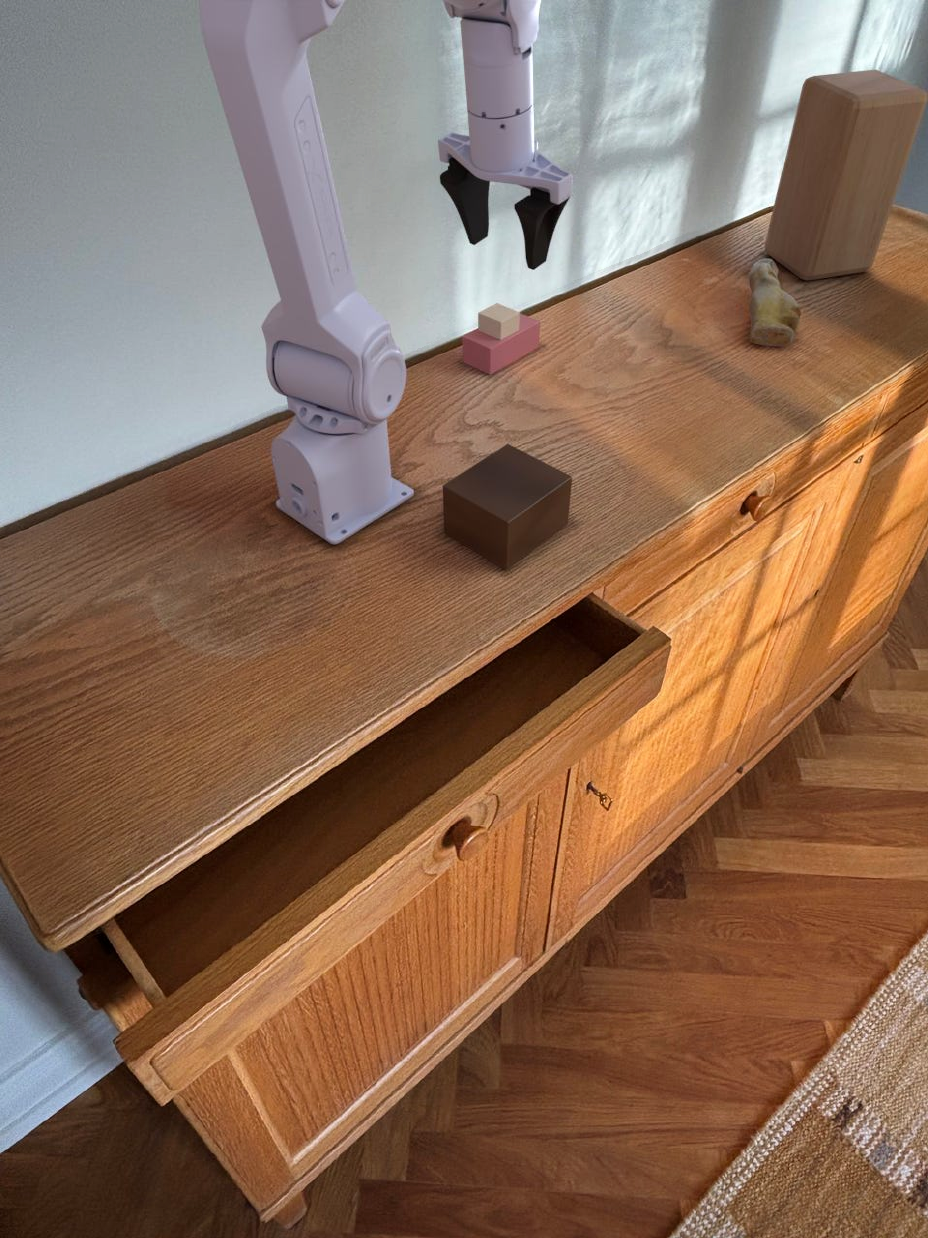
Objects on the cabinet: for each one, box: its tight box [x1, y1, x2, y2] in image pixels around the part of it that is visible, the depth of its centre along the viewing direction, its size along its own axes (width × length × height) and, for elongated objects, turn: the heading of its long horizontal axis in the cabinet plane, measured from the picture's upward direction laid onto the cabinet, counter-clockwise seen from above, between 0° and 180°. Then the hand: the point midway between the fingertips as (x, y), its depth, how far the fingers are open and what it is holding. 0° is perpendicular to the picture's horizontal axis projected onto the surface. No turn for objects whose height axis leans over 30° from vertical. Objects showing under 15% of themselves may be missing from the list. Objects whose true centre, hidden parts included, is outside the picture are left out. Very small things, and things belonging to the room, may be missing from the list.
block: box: [764, 69, 928, 281], centre depth 102 cm, size 10×10×20 cm
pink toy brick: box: [461, 302, 541, 376], centre depth 92 cm, size 8×4×5 cm, turn 137°
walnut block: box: [442, 443, 573, 571], centre depth 72 cm, size 8×7×5 cm
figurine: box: [748, 257, 802, 347], centre depth 98 cm, size 5×5×15 cm
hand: (507, 251), depth 85 cm, fingers open, 7 cm apart
